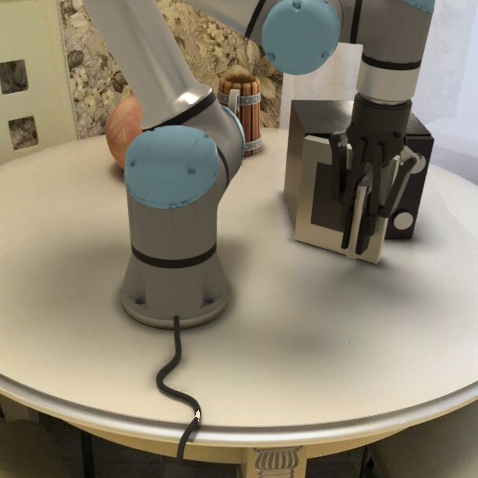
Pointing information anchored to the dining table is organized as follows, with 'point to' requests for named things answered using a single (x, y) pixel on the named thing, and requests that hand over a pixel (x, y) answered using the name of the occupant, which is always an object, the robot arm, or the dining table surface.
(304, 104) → the microwave
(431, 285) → the dining table surface
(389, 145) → the robot arm
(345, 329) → the dining table surface
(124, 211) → the dining table surface
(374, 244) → the microwave door
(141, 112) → the jug
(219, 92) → the mug
